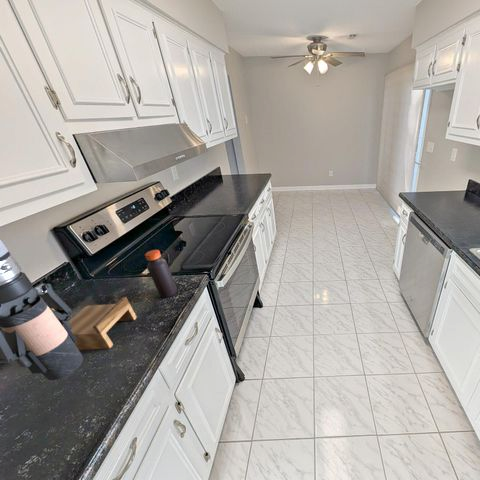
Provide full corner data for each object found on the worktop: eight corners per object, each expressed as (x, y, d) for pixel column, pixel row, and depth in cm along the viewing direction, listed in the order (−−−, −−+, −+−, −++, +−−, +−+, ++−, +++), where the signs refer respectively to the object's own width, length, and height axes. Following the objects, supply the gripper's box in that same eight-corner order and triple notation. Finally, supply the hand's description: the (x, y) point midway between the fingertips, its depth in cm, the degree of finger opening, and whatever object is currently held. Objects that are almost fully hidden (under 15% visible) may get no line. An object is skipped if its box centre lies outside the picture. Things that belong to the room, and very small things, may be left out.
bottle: (172, 297, 105) (155, 256, 96) (156, 298, 106) (138, 257, 96) (180, 287, 111) (165, 248, 102) (165, 288, 112) (148, 249, 102)
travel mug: (90, 359, 65) (48, 299, 56) (53, 386, 59) (-1, 323, 50) (75, 350, 68) (32, 291, 59) (38, 374, 62) (-16, 313, 53)
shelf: (63, 350, 84) (46, 328, 79) (95, 319, 96) (83, 299, 92) (110, 348, 84) (96, 326, 79) (137, 317, 96) (126, 296, 92)
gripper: (-50, 316, 42) (29, 397, 53) (60, 253, 61) (103, 323, 71) (-94, 318, 42) (-6, 399, 53) (30, 255, 61) (76, 324, 71)
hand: (56, 355), depth 62 cm, fingers closed on travel mug, 8 cm apart
